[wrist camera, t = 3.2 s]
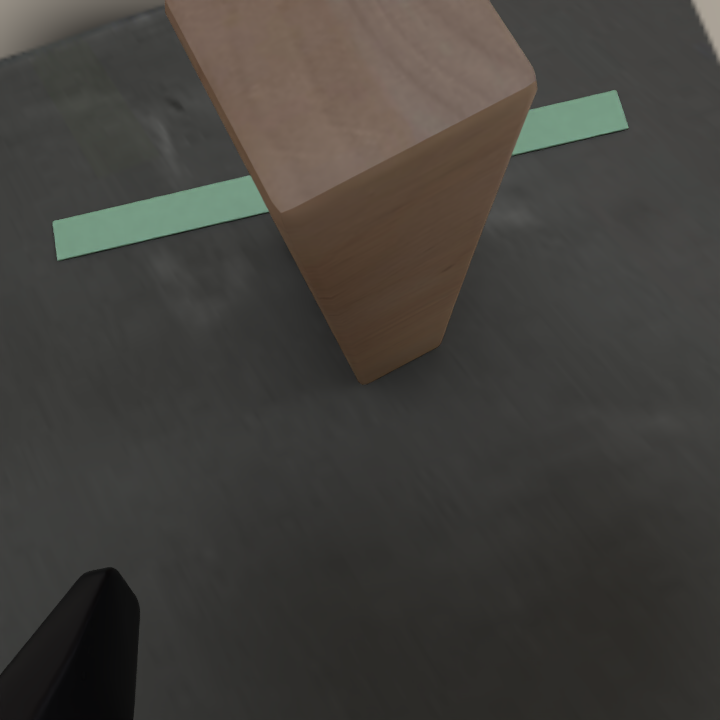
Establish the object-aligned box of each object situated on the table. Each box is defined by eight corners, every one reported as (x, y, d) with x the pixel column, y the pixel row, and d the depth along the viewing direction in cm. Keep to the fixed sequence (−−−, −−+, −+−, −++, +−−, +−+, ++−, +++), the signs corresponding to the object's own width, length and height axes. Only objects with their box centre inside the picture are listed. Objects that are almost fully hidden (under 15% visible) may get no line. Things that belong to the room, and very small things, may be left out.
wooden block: (442, 344, 21) (551, 77, 6) (361, 388, 21) (274, 220, 6) (358, 194, 22) (279, -336, 7) (281, 234, 22) (43, -219, 7)
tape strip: (58, 261, 22) (57, 260, 22) (53, 222, 23) (52, 221, 23) (627, 129, 22) (628, 127, 22) (615, 91, 22) (616, 89, 22)
